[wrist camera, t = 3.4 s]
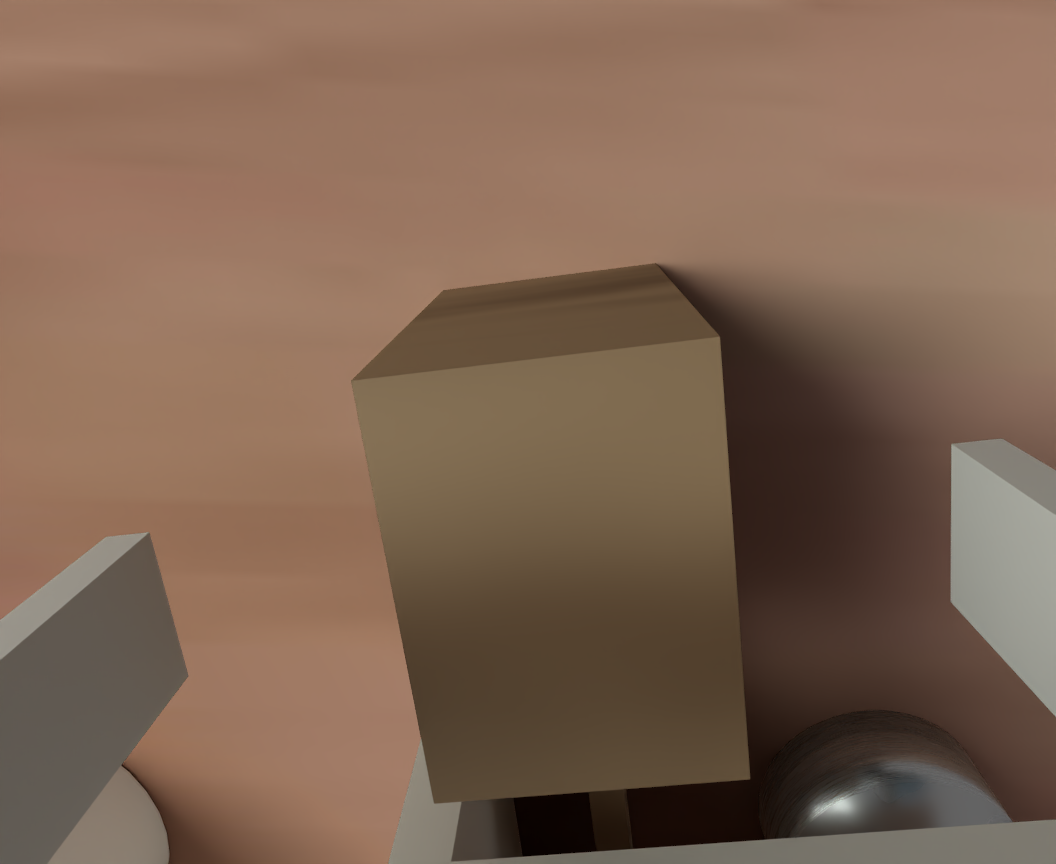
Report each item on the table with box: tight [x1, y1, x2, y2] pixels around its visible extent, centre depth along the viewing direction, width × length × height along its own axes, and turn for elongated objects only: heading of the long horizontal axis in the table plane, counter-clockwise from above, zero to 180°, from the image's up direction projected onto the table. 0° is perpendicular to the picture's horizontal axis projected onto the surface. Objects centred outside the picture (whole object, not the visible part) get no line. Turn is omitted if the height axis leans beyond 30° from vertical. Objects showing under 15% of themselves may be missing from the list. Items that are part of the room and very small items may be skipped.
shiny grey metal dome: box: [758, 710, 1013, 840], centre depth 23 cm, size 6×6×3 cm
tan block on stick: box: [351, 263, 750, 852], centre depth 19 cm, size 19×5×9 cm, turn 8°
